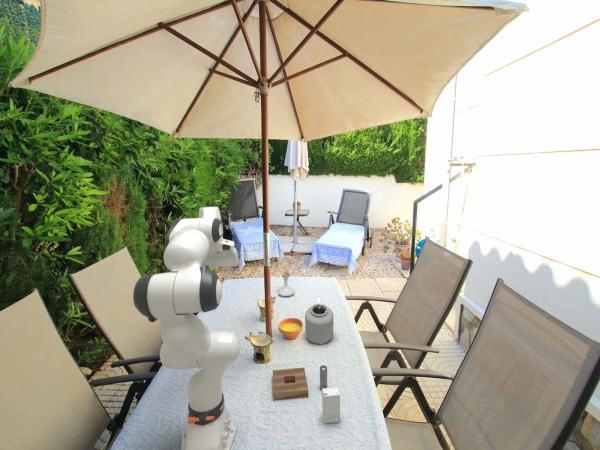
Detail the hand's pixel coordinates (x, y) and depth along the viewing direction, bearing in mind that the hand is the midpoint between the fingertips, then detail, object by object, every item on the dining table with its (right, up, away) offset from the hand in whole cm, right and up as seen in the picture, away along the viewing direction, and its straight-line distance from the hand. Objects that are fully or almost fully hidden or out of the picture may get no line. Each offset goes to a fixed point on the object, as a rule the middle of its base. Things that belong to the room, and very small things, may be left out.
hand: (214, 277), depth 134 cm
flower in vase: (+26, -27, +92) cm, 99 cm away
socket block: (+31, -47, +3) cm, 56 cm away
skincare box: (+47, -51, -14) cm, 70 cm away
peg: (+45, -47, +1) cm, 65 cm away
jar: (+46, -39, +37) cm, 71 cm away
